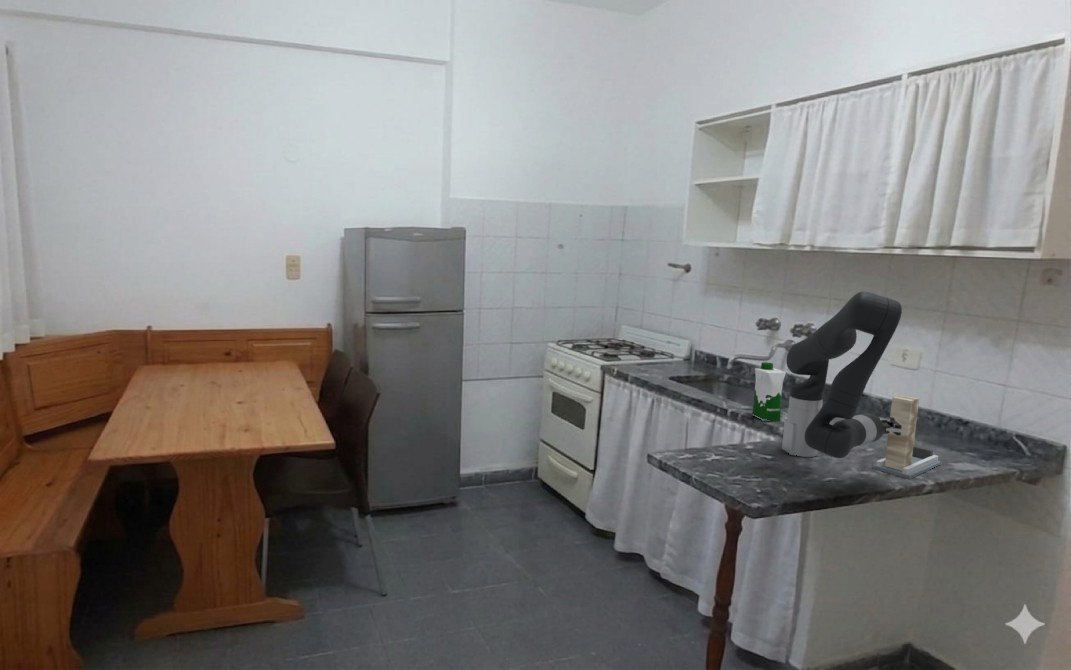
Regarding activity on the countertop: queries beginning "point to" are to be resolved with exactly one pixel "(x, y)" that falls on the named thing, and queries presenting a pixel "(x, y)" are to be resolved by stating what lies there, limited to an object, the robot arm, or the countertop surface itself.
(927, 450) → the chute
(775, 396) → the milk carton
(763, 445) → the countertop surface
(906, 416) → the block
